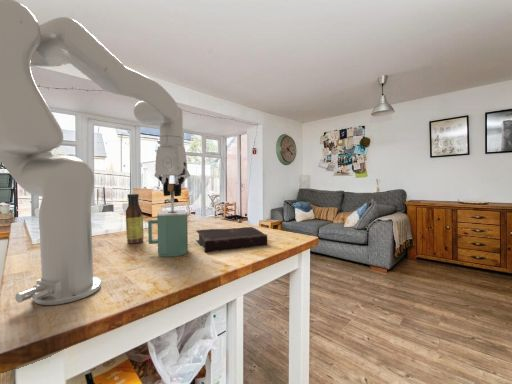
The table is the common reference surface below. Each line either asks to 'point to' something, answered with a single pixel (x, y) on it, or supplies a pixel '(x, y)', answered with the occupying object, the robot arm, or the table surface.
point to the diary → (230, 238)
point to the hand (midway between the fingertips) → (172, 195)
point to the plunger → (171, 188)
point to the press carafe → (170, 233)
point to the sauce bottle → (134, 220)
